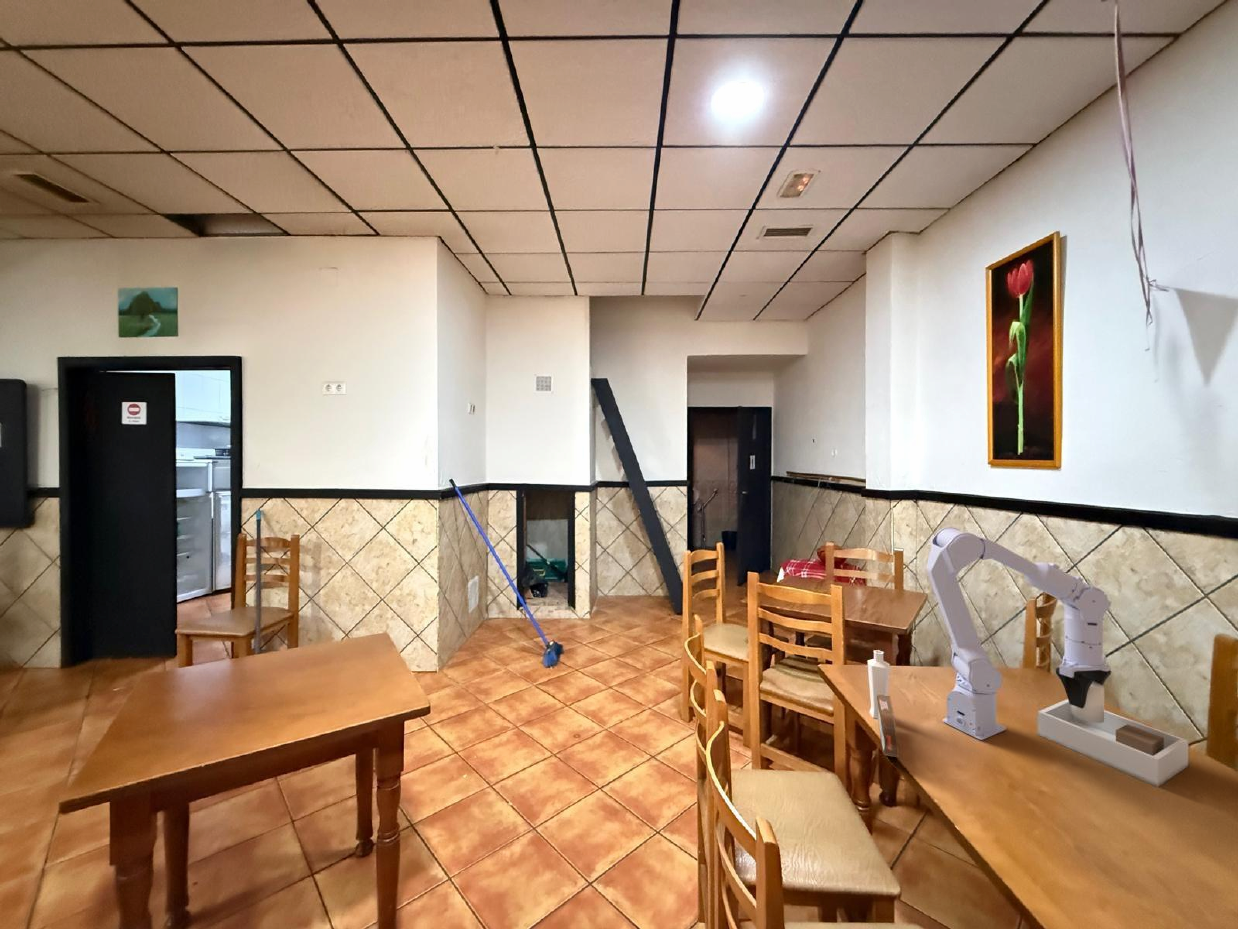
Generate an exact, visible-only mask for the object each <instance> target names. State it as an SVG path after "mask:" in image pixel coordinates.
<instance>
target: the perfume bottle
mask: <svg viewBox="0 0 1238 929" xmlns="http://www.w3.org/2000/svg"><path fill="white" fill-rule="evenodd" d="M884 653H885V652H884V651H881V650H879V649H878V650H873V658H872V659H869V660H867V670H868V671H867V672H868V685H869V698H870V706H871V707H870V710H869V714H870V716H871V718H873V719H877V720H878V712H879V709H878V701H877V695H884V696H889V695H888V694H889V682H890V666H891V665H890V663H888V662H886V661H885V660H884Z"/></svg>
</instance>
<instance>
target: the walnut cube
mask: <svg viewBox="0 0 1238 929" xmlns="http://www.w3.org/2000/svg"><path fill="white" fill-rule="evenodd" d="M1116 741H1117V742H1119V743H1122V744H1124V745H1127V746H1129V747H1132V748H1134V749H1137V750H1139V751H1142V752H1144V753H1147V754H1149V755H1152V756H1154V755H1156V754H1157V753H1159V752H1160V751H1162V750H1164V738H1163V737H1161V736H1158V735H1155V734H1153V733H1150V732H1147V731H1145V730H1142V729H1139V728H1136V727H1134V726H1131V725H1128V724H1127V725H1125V726H1123V727H1121V728H1119V729H1117V730H1116Z"/></svg>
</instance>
